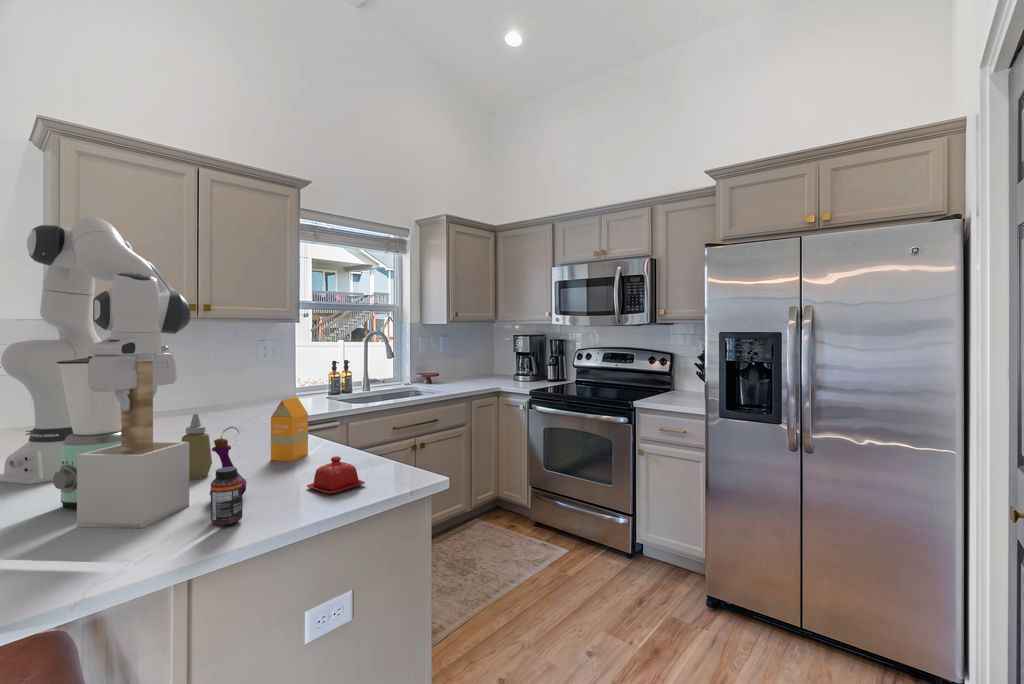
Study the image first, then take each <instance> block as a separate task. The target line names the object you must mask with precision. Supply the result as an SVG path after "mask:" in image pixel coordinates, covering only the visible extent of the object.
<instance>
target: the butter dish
mask: <svg viewBox="0 0 1024 684" xmlns="http://www.w3.org/2000/svg"><path fill="white" fill-rule="evenodd" d="M341 460H342V458H341V456H332V457H330V461H331V463H329V462H328V463H326V464H324V465H322V466H320V467H318V468H316V470H315V473H314V479H313V482H312V483H309V484H307V485H306V487H307V488H309V489H313V490H316V491H320V492H322V493H325V494H330V493H334V494H337V493H340V492H339V491H341V492H343V491H342V490H344V491H347V490H350V489H349V488H351V489H353V487H354V488H357V487H358V486H359V487H360V486H361V485H364V484H365V483H366V482H365V480H360V479H359V475H358V472H357V469H356V467H355V466H354V465H353V464H351V463H348V462H345V461H344V462H343V461H341ZM346 489H347V490H346ZM336 492H337V493H336Z"/></svg>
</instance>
